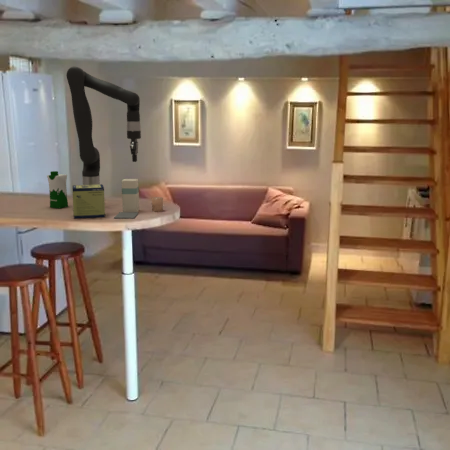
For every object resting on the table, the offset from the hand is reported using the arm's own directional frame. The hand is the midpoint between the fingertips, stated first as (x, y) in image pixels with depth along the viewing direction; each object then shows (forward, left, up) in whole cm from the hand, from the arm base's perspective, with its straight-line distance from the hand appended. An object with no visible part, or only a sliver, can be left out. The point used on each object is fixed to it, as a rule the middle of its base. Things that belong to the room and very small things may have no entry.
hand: (134, 161), depth 295 cm
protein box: (-19, -29, -25) cm, 43 cm away
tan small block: (+14, -14, -25) cm, 32 cm away
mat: (0, -28, -25) cm, 38 cm away
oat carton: (0, -16, -25) cm, 30 cm away
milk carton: (-42, -5, -25) cm, 49 cm away
